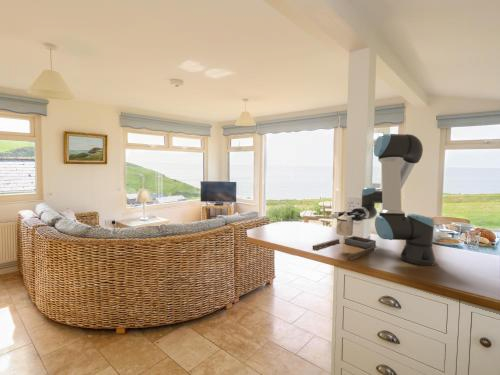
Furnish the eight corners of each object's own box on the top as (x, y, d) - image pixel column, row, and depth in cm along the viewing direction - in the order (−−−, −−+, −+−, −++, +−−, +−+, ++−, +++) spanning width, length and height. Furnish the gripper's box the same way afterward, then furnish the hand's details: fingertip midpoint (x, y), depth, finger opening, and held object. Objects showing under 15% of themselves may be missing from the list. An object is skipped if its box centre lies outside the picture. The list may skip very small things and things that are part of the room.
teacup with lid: (341, 231, 165) (342, 211, 164) (356, 234, 158) (357, 214, 157) (329, 234, 157) (330, 213, 156) (344, 237, 150) (345, 216, 149)
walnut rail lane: (374, 251, 158) (374, 247, 158) (351, 260, 141) (351, 256, 141) (336, 241, 176) (336, 238, 175) (312, 249, 159) (312, 245, 159)
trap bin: (375, 245, 170) (375, 240, 169) (366, 248, 162) (367, 243, 162) (353, 240, 180) (354, 235, 180) (344, 243, 173) (344, 238, 172)
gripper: (377, 223, 161) (358, 227, 146) (343, 217, 177) (322, 221, 162) (378, 210, 160) (358, 213, 145) (343, 205, 177) (322, 208, 162)
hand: (339, 217), depth 154 cm, fingers closed on teacup with lid, 9 cm apart
